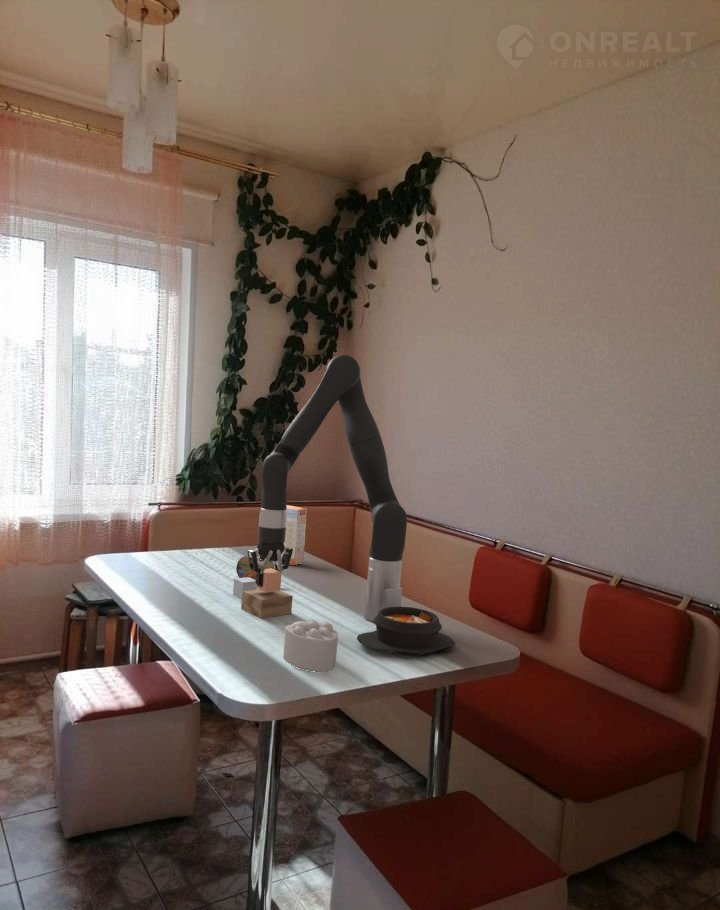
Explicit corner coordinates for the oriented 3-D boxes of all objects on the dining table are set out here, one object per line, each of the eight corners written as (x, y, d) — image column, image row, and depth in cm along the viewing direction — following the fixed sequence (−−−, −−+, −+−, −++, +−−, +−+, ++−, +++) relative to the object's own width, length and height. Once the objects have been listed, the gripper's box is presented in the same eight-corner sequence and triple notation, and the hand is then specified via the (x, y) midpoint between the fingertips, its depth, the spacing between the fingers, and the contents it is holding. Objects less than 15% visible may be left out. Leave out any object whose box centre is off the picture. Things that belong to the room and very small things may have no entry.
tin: (234, 579, 231) (236, 554, 230) (240, 578, 234) (242, 552, 233) (273, 588, 224) (275, 561, 223) (278, 586, 227) (280, 560, 226)
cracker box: (303, 564, 261) (308, 507, 260) (293, 566, 256) (298, 509, 255) (274, 557, 269) (278, 502, 267) (263, 559, 263) (267, 503, 262)
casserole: (433, 634, 190) (436, 603, 189) (468, 658, 172) (471, 624, 172) (345, 637, 180) (348, 605, 180) (373, 663, 163) (376, 627, 163)
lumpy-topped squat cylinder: (316, 650, 169) (318, 614, 169) (346, 668, 159) (349, 630, 158) (277, 656, 163) (280, 619, 163) (306, 675, 153) (309, 636, 152)
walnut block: (291, 613, 197) (292, 595, 197) (260, 618, 191) (262, 600, 190) (271, 604, 205) (272, 587, 205) (241, 608, 198) (242, 591, 198)
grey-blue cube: (256, 597, 212) (257, 580, 211) (241, 599, 208) (243, 582, 208) (247, 593, 215) (248, 577, 215) (232, 595, 212) (234, 578, 212)
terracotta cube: (280, 589, 197) (281, 572, 197) (265, 591, 194) (266, 573, 194) (270, 585, 201) (271, 568, 201) (255, 587, 198) (256, 569, 197)
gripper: (258, 528, 189) (253, 591, 190) (301, 525, 198) (296, 586, 199) (243, 523, 194) (238, 585, 195) (285, 521, 204) (281, 580, 205)
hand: (268, 585), depth 197 cm, fingers closed on terracotta cube, 4 cm apart
